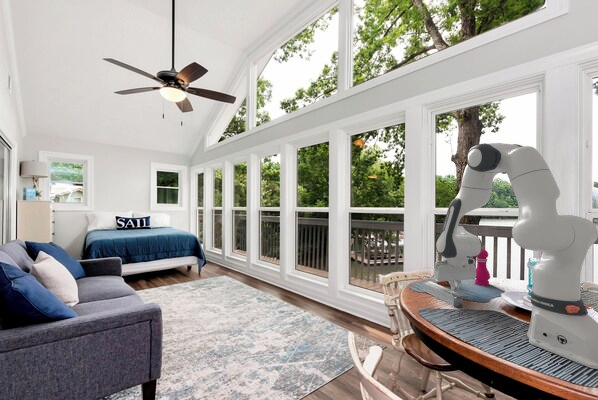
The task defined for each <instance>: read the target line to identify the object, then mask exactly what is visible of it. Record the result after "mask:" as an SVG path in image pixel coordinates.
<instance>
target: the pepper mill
mask: <svg viewBox="0 0 598 400" xmlns="http://www.w3.org/2000/svg"><path fill="white" fill-rule="evenodd" d="M475 257H476V258H475V262H476V278H475V279H474V284H475V285H478V286H483V287H488V286H489V285H490V281H489V280H490V279H491V275H490V271H489V270H488V268H487V263H488V259H487V258H488V257H489V251H487V249H484V246H482V251H481V253H480V254H479V255H477V256H475Z"/></svg>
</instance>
